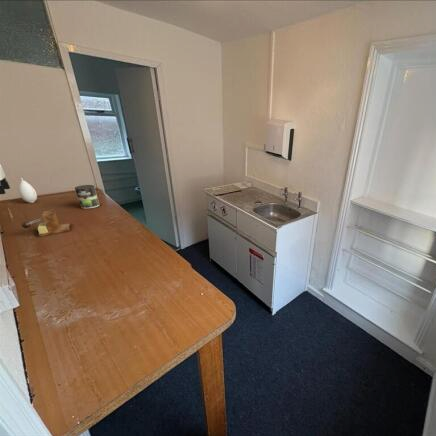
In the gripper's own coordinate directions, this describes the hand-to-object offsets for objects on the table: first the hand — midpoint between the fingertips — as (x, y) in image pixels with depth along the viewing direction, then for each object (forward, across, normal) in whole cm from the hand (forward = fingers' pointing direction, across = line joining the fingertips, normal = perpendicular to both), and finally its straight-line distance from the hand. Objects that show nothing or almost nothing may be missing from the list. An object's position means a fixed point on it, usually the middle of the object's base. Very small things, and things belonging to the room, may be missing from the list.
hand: (3, 191), depth 112 cm
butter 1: (+23, -2, +8) cm, 25 cm away
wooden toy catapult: (+24, 0, +12) cm, 27 cm away
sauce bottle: (+24, -66, -4) cm, 71 cm away
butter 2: (+23, +2, +8) cm, 25 cm away
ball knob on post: (+18, 0, +8) cm, 20 cm away
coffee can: (+24, -36, +28) cm, 52 cm away
